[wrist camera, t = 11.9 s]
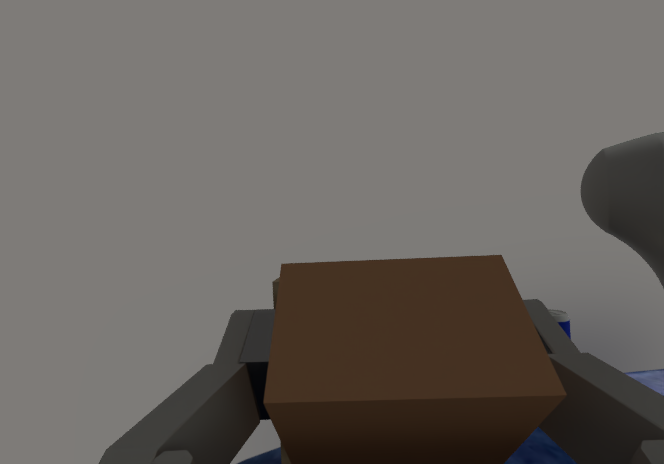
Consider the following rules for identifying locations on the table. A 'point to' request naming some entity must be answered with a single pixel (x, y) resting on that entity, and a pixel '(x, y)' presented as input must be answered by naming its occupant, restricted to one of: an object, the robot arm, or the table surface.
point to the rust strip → (405, 363)
